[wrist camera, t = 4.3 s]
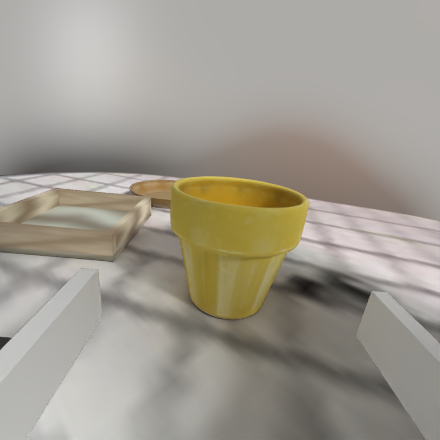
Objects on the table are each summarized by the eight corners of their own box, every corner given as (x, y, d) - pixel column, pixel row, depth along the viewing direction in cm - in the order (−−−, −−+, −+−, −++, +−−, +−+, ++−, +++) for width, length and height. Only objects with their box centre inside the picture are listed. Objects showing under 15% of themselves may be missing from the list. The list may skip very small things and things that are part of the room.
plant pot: (230, 255, 29) (240, 172, 26) (307, 304, 22) (336, 198, 18) (147, 282, 22) (146, 177, 19) (219, 365, 15) (238, 220, 12)
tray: (113, 261, 25) (111, 235, 24) (-32, 249, 25) (-40, 221, 24) (151, 215, 39) (151, 196, 38) (58, 206, 39) (55, 188, 37)
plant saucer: (222, 205, 49) (223, 192, 48) (160, 219, 38) (160, 203, 37) (176, 188, 58) (176, 177, 57) (115, 196, 47) (114, 183, 46)
